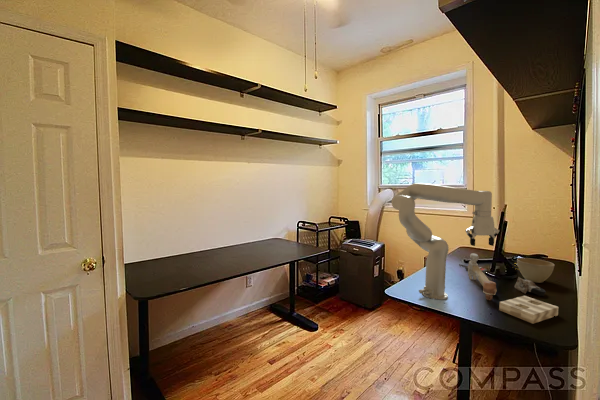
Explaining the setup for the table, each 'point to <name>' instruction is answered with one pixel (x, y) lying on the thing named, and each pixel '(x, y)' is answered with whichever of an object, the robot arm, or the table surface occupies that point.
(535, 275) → the white bowl
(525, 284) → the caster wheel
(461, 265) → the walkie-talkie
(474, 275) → the hammer
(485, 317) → the table surface
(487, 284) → the peg
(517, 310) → the board
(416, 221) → the robot arm
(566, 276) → the table surface
